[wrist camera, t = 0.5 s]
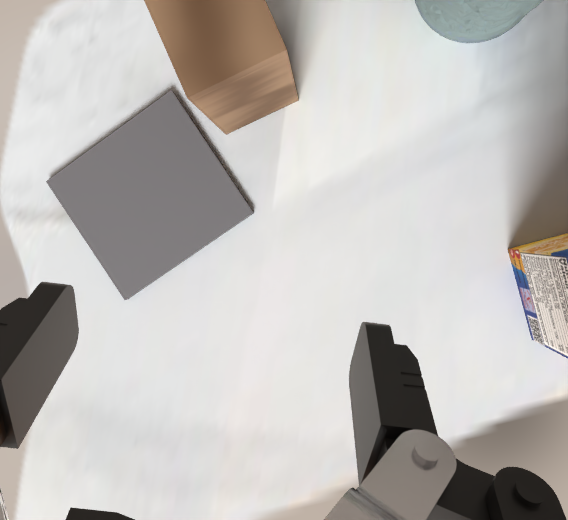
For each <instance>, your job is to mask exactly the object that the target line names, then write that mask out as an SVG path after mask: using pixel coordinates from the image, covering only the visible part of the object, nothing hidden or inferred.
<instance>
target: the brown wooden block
mask: <svg viewBox="0 0 568 520" xmlns="http://www.w3.org/2000/svg"><path fill="white" fill-rule="evenodd" d="M144 1H145V3H146V5H147V8H148V10H149V12H150V15H151V17H152V19H153V21H154V24H155V26H156V28H157V30H158V33H159V35H160V37H161V40H162V42H163V44H164V46H165V49H166V51H167V53H168V55H169V58H170V60H171V62H172V64H173V67H174V69H175V71H176V74H177V76H178V78H179V80H180V83H181V85H182V87H183V89H184V92H185V94H186V96H187V98H188V99H189V100H190V101H191V102H192V103H193V104H194V105H195V106H196V107H197V108H198V109H199V110H201V111H202V112H203V113H204V114H205V115H206V116H207V117H208V118H209V119H210V120H211V121H212V122H213V123H214V124H215V125H216V126H217V127H219V128H220V129H221V130H222V131H223V132H224V133H225V134H228V133H231V132H233V131H235V130H237V129H239V128H241V127H243V126H245V125H248V124H250V123H252V122H254V121H256V120H258V119H260V118H262V117H264V116H267V115H269V114H271V113H273V112H275V111H277V110H279V109H281V108H283V107H286V106H288V105H290V104H292V103H294V102H296V101H298V100H299V99H298V95H297V91H296V86H295V82H294V78H293V74H292V70H291V65H290V61H289V57H288V53H287V49H286V47H285V44H284V42H283V40H282V37H281V35H280V33H279V31H278V28H277V26H276V24H275V21H274V19H273V17H272V15H271V12H270V10H269V8H268V5H267V3H266V1H265V0H144Z"/></svg>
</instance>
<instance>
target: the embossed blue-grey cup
mask: <svg viewBox="0 0 568 520" xmlns="http://www.w3.org/2000/svg"><path fill="white" fill-rule="evenodd" d="M542 1H543V0H415V3H416V5H417V8H418V10H419V12H420V14H421V16H422V18H423V19H424V20H425V22H426V23H427V24H428V25H429V26H430V27H431V28H432V29H433V30H434V31H436V32H437V33H438V34H440V35H441V36H443V37H445V38H447V39H450V40H454V41H457V42H462V43H479V42H483V41H488V40H491V39H493V38H496V37H498V36H500V35H502V34H504V33H505V32H507V31H508V30H510V29H511V28H513V27H514V26H515V25H516V24H517V23H518V22H519V21H520V20H521V19H522V18H523V17H524V16H525V15H526V14H527V13H528V12H530V11H531V10H532V9H533V8H536V7H537V6H538V5H539V4H540V3H541V2H542Z"/></svg>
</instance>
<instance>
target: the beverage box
mask: <svg viewBox="0 0 568 520" xmlns="http://www.w3.org/2000/svg"><path fill="white" fill-rule="evenodd" d="M508 253H509V256H510V260H511V264H512V267H513V271H514V275H515V279H516V282H517V286H518V290H519V294H520V297H521V301H522V305H523V308H524V312H525V316H526V320H527V323H528V327H529V331H530V335H531V338H532V340H534V341H536V342H538V343H540V344H541V345H543V346H545V347H547V348H549V349H551V350H553V351H555V352H557V353H558V354H560V355H562V356H564V357H566V358H568V233H566V234H562V235H558V236H555V237H551V238H547V239H543V240H540V241H536V242H532V243H528V244H525V245H521V246H517V247H513V248H510V249H508Z"/></svg>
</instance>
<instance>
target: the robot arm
mask: <svg viewBox="0 0 568 520" xmlns="http://www.w3.org/2000/svg"><path fill="white" fill-rule="evenodd" d="M78 333H79V328H78V319H77V311H76V303H75V294H74V289H73V287H72V286H71V285H65V284H57V283H49V282H41V283H40V284H39V285H38V286H37V288H36V289H35V290H34V291H33V293H32V294H31V295H30V296H29V298H28V299H26V298H18V299H16V300H15V301H13V302H11V303H10V304H8V305H6V306H5V307H3V308H2V309H1V310H0V447H8V448H17V449H18V448H19V446H20V444H21V443H22V441H23V439H24V437H25V436H26V434H27V432H28V430H29V429H30V427H31V425H32V423H33V422H34V420H35V418H36V416H37V415H38V413H39V411H40V409H41V407H42V406H43V404H44V402H45V400H46V399H47V397H48V395H49V393H50V392H51V390H52V388H53V386H54V385H55V383H56V381H57V379H58V378H59V376H60V374H61V372H62V371H63V369H64V367H65V365H66V364H67V362H68V360H69V358H70V357H71V355H72V353H73V351H74V349H75V347H76V344H77V340H78ZM421 375H422V374H421V371H420V367H419V363H418V360H417V358H416V357H415V356H414V354H413V353H412V352H411V351H410V349H409V348H408V347H407V345H398V344H394V340H393V336H392V331H391V327H390V326H389V325H385V324H377V323H369V322H362V324H361V327H360V330H359V334H358V338H357V341H356V345H355V349H354V353H353V356H352V360H351V365H350V373H349V387H350V397H351V407H352V417H353V427H354V438H355V448H356V458H357V468H358V478H359V487H358V488H357V489H356V490H355V489H354V488H351V489H349V490H348V491H347V492H346V493H345V494H344V496H343V497H342V498H341V499H340V501H339V502H338V503H337V504H336V506H335V507H334V508H333V509H332V511H331V512H330V513H329V514H328V515H327V516H326V518H325V519H324V520H566V517H565V515H564V512H563V510H562V507H561V504H560V502H559V500H558V498H557V495H556V494H555V492H554V491H553V489H552V488H551V487H550V486H549V485H548V484H547V483H546V482H545V481H544V480H543V479H541V478H540V477H539V476H537V475H536V474H534V473H532V472H530V471H528V470H525V469H523V468H518V467H506V468H503V469H501V470H500V471H499V472H498V473H497V474H496V476H493V475H490V474H488V473H485V472H483V471H480V470H478V469H475V468H473V467H470V466H468V465H466V464H464V463H462V462H460V461H459V460H458V459H456V458H455V455H454V453H453V451H452V449H451V448H450V447H449V445H448V444H447V443H446V442H445V441H444V440H442V439H441V438H440V437H438V434H437V430H436V427H435V423H434V419H433V415H432V412H431V408H430V404H429V401H428V397H427V393H426V390H425V386H424V382H423V378H422V377H421ZM0 520H9V518H8V514H7V510H6V506H5V502H4V499H3V495H2V491H1V487H0ZM66 520H134V519H132V518H129V517H127V516H124V515H122V514H119V513H116V512H107V511H97V510H88V509H79V508H70V510H69V513H68V515H67V518H66Z"/></svg>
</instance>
